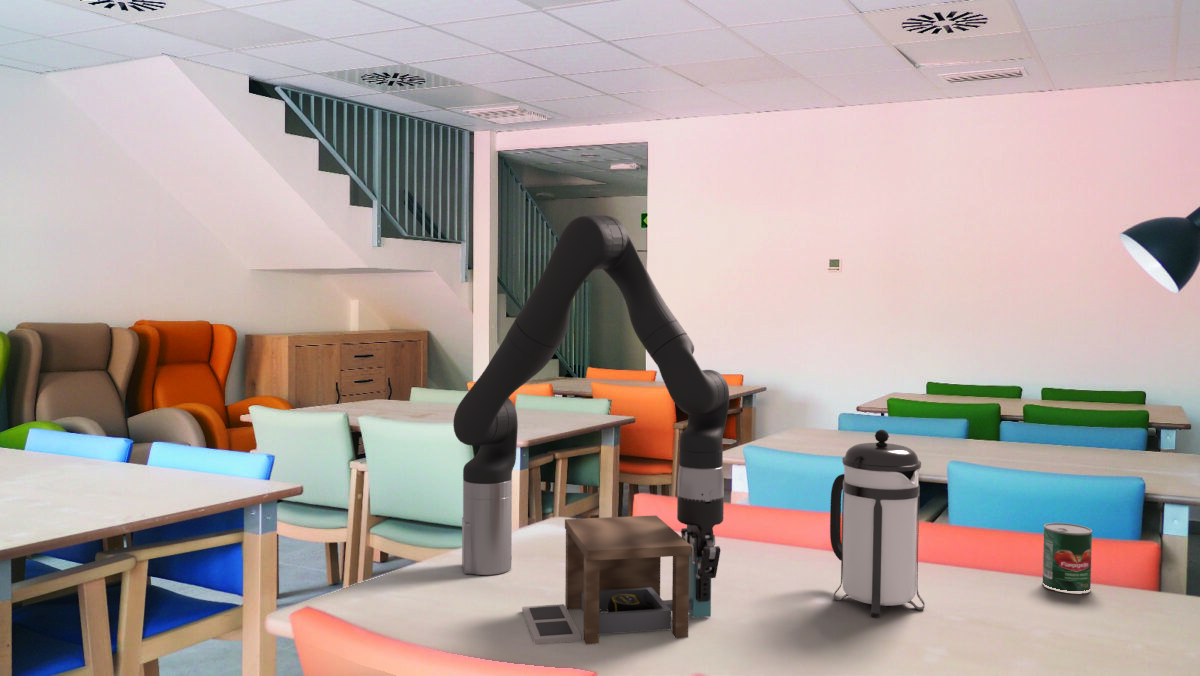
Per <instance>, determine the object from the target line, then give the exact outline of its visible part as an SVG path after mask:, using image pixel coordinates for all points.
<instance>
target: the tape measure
mask: <svg viewBox="0 0 1200 676" xmlns="http://www.w3.org/2000/svg"><path fill="white" fill-rule="evenodd" d="M652 609H655V608H654V607H653V606H652V605H651V604H650V603H649V602H648V601H646V600H645V599H644V598H643V597H642V596H641V595H639V594H632V595H631V594H618V595H615V596H612V597H611V598H610V601H609V602H608V609H607V612H620V611H636V610H652Z"/></svg>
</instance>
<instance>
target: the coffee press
mask: <svg viewBox="0 0 1200 676" xmlns="http://www.w3.org/2000/svg"><path fill="white" fill-rule="evenodd" d="M889 437H890V435H889V433H888V431H887V430H885V429H879V430H877V431H876V432H875V435H874V438H875V440H876V441H877V442H863V443H858V444H856V445H853V446H851V447H850V448H848V449H847V451H846V452H845V455H844V456H843V457H842V458H841V459H842V466H843V467H844V473H842V474H839V475H837V476H836V478H835V479H834V481H833V483H832V486H831V491H830V505H829V506H830V509H829V512H830V514H829V515H830V516H829V517H830V518H829V535H830V537H829V539H830V545H831V548H832V551H833V553H834V556H836V557H837V559H838V560H839V561H841V563H840V564H841V566H840V568H841V569H840V584H839V586H838V587H837V588H836V590H835V591H834V593H833V599H834V600H835V601H836V602H837V601H838V602H840V601H842V600H844V599H845V598H847V597H849V598H851V599H853V600H855V601H858V602H860V603H865V604H869V605H871V609H870V611H871V612H870V613H871V614H870V616H871V617H874V618H881V606H886V607H887V606H891V607H892V606H899V605H905V604H910V605H911V606H913V608H915V609H916V610H917V611H923V610H924V609H925V601H924V599H923V598H922V597H921V595H920V594H919V591H918V589H919V586H918V582H919V581H918V579H919V578H918V576H919V573H918V572H919V535H920V534H919V532H920V531H919V528H920V527H919V526H920V492H921V491H920V489H921V487H920V483H919V471H920V470H921V468H922V462H921V460H919V458H918V455H917V453H916V452H915V451H914V450H913V449H911V448H909V447H908V446H904V445H901V444H897V443H896V444H894V443H890V442H889V443H887V441H888V440H889ZM841 587H842V588H843V591H844V595H843V596H841V597H838V596H837V595H836V594H837V592H838V591H839V590H840V588H841ZM915 596H917V597H918V599H919V601H920V602H921V603H922V604H923V605H922V606H921V607H920V606H918V605H916V603H914V601H912V600H913V599H914V598H915Z"/></svg>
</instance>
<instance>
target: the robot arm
mask: <svg viewBox="0 0 1200 676" xmlns="http://www.w3.org/2000/svg"><path fill="white" fill-rule="evenodd" d="M640 256H641V255H640V254H639V252H638V250H637V247H636V246H635V243H634V241H633V240H632V237H631V236H630V233H629V232H628V230H627V228H626V227H625V225H624V224H623V223H622V222H621V221H620V220H619V219H618V218H615V217H613V216H609V215H601V214H600V215H591V214H589V215H581V216H578V217H575V218H574V219H572V220H571V221H570V222H569V223H567V225H566V226H565V228H564V229H563V231H562V232H561V234H560V236H559V239H558V241H557V243H556V245H555V247H554V249H553V251H552V254H551V255H550V259H548V263H547V265H546V267H545V268H544V271H543V273H542V275H541V276H540V279H539V280H538V281H537V284H535V286H534V288H533V290H532V292H531V293H530V295H529V297H528V299H527V300H526V302H525V304H524V305H523V307H522V309H521V310H520V312H519V313H518V315H517V316H516V317H515V319H514V321H513V322H512V323H511V326H510V328H509V329H508V331H507V333H506V334H505V337H504V338H503V340H502V342H501V344H499V347H498V348H497V350H496V352H495V353H494V355H493V356H492V358H491V359H490V361H489V362H488V364H487V366H486V367H485V369H484V371H483V372H482V373H481V374H480V376H479V378H477V380H476V381H475V383H474V384H472V386H471V388H470V389H469V391H468V392H467V393H466V394H465V395H464V397H462V399H461V401H460V402H459V404H458V405H457V408H456V410H455V413H454V416H453V432H454V435H455V436H456V438H457V440H458V441H459V442H460V443H462V444H464V445H466V446H476V447H478V446H479V449H478V452H477V453H476V455H475V456H474V457H473V458H472V459H471V458H470V460H469V461H468V462H466V463H465V464H464V466H463V469H462V471H463V472H462V481H463V482H462V483H463V484H462V512H463V513H462V516H461V531H462V532H461V536H462V537H461V566H462V570H463V574H464V575H467V574H472V575H479V576H480V575H481V576H492V575H498V574H504V573H507V572H509V571H510V570H511V569H512V559H513V558H512V557H513V555H512V545H513V544H512V541H513V540H512V536H513V535H512V529H513V525H512V522H513V521H512V520H513V519H512V517H513V516H512V513H513V510H512V509H513V507H512V505H513V503H512V502H513V501H512V499H513V497H512V495H513V491H512V488H513V486H512V485H513V484H512V482H513V480H512V479H513V470H514V468H515V465H516V460H517V446H518V444H517V443H518V429H519V428H518V427H519V426H518V425H519V422H518V413H517V410H516V407H515V405H514V403H513V401H512V400H511V399H510V397H511V396H512V395H513V394H514V393H515V392H516V391H517V390H518V389H519V388H521V387H522V386H524V384H527V382H529V381H530V380H531V379H532V378H533V377H535V376H536V375H537V374H539V373H540V372H541V371H542V370H543V369H544V368H545V367H546V366H547V365H548V364H549V362H550V361H551V360H552V358H553V357H554V355H555V354H556V352H557V351H558V350H559V349H558V348H559V347H560V345H561V344H562V342H563V341H564V339H565V338H566V335H567V332H568V329H569V323H570V316H571V313H570V312H571V308H572V307H571V306H572V304H573V300H574V298H575V296H576V294H577V292H578V291H579V289H580V288H581V286H582V285H583V283H584V282H585V281H586V279H587V278H588V277H589V275H590V274H591V273H592V272H593V271H595V270H596V271H597V270H598V271H599V270H602V271H604V272H605V273H606V274H607V275H608V276H609V278H610V279H612V281H613V282H614V284H615V285H616V286H617V287H618V289H619V290H620V292H621V294H622V297H623V299H624V301H625V304H626V308H627V312H628V315H629V318H630V319H629V320H630V323H631V326H632V329H633V330H634V333H635V334H636V336H637V338H638V340H639V341H640V343H641V345H642V346H643V347H644V349H645V350H646V352H647V354H649V356H650V358H651V359H652V360H653V362H654V363H655V365H656V366H657V367H658V370H659V374H660V376H661V378H662V380H663V383H664V384H665V387H666V390H667V392H668V394H669V396H670V398H671V399H672V401H673V402H674V404H675V405H676V406H677V407H678V408H679V409H680V410H681V411H682V412H684V413H685V414H687V415H688V419H687V420H688V421H687V425H686V428H685V429H684V430H683V431H682V433H681V435H680V437H679V449H678V450H679V453H678V455H679V456H678V457H679V459H678V462H679V465H678V475H677V494H676V495H677V499H676V500H677V502H676V503H677V504H676V505H677V507H676V510H677V514H676V519H677V521H678V522H679V523H680V524H683V525H685V526H686V527H684V528H681V530H680V533H681V534H680V536H681V537H682V538H683V539H684V540H685V541H687V542H688V543H689V544H690V545H691V552H692V562H693V563H694V564H695V568H696V600H697V601H698V602H707V601H709V600H710V579H711V580H712V579H716V578H717V572H718V566H719V561H720V556H721V555H720V554H721V547H720V545H719V546H716V535H715V534H714V529H713V528H714V527H715V526H718V525H721V524H722V523H723V521H724V510H725V509H724V506H725V505H724V504H725V503H724V499H725V498H724V496H725V495H724V494H725V493H724V492H725V479H724V470H723V468H724V467H723V459H724V458H723V457H724V456H723V454H724V453H723V452H724V449H723V448H724V447H723V446H724V445H723V438H724V437H723V436H724V433H725V429H726V424H727V419H728V413H729V407H730V391H729V389H730V388H729V385H728V382H727V381H726V379H725V377H724V376H723V375H722V374H721V373H720V372H718V371H716V370H713V369H704V370H702V369H701V367H700V365H699V364H698V362H697V360H696V358H695V356H694V355H693V354H694V352H695V345H694V344H693V341H692V339H691V338H690V336H689V335H688V333H687V331H685V329H684V328H683V326H682V324H680V322H679V320H678V319H677V318H676V317H675V315H674V314H673V312H672V311H671V309H670V308H669V306H668V305H667V303H666V302H665V300H664V298H663V297H662V296H661V294H660V292H659V290H658V289H657V287H656V285H655V283H654V281H653V280H652V278H651V276H650V274H649V271H648V270H647V268H646V266H645V264H644V262H643V260H642V258H641V257H640ZM697 557H702V559H698V558H697ZM706 568H707V570H705V569H706Z"/></svg>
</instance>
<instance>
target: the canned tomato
mask: <svg viewBox="0 0 1200 676" xmlns="http://www.w3.org/2000/svg"><path fill="white" fill-rule="evenodd" d="M1092 542H1093V530H1092V529H1091V528H1089V527H1087V526H1084V525H1080V524H1073V523H1065V522H1051V523H1050V522H1049V523H1045V524H1044V525H1043V549H1042V551H1043V552H1042V553H1043V554H1042V555H1043V556H1042V562H1043V563H1042V583H1044V584H1045V585H1047V586H1049V587H1052V588H1056V589H1060V590H1067V591H1084V590H1085V591H1086V590H1089V589H1091V587H1092V586H1091V583H1092V582H1091V581H1092V551H1093V549H1092V547H1093V546H1092Z"/></svg>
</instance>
